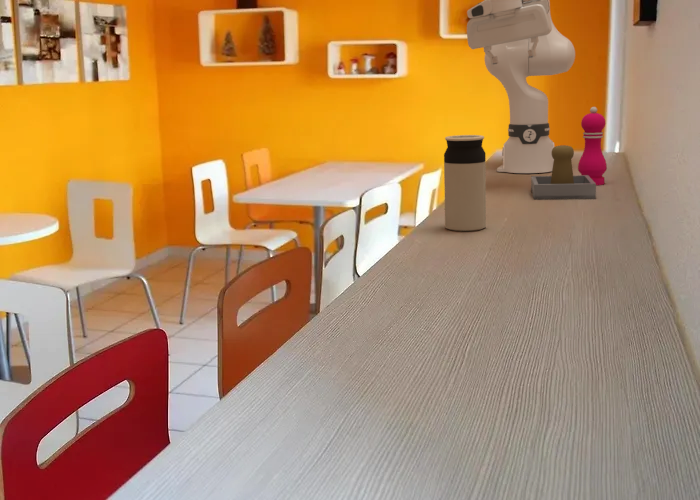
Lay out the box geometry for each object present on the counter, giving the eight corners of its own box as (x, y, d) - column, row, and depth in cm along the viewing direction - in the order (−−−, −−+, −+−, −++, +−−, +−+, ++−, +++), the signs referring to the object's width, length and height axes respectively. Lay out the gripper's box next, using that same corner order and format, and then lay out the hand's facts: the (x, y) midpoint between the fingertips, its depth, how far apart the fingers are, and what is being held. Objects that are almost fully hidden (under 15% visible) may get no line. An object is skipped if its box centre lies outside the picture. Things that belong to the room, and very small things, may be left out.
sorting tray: (531, 189, 207) (531, 176, 206) (587, 189, 205) (588, 175, 204) (534, 199, 192) (534, 184, 191) (595, 198, 189) (596, 183, 188)
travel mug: (488, 231, 157) (488, 137, 153) (447, 232, 157) (445, 138, 153) (482, 223, 164) (482, 134, 160) (443, 225, 165) (442, 135, 161)
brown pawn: (575, 192, 194) (576, 146, 192) (549, 192, 196) (550, 147, 193) (574, 188, 200) (575, 144, 198) (548, 189, 201) (549, 144, 199)
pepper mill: (603, 181, 216) (605, 105, 212) (608, 185, 209) (611, 106, 205) (575, 182, 217) (576, 106, 213) (580, 186, 210) (581, 107, 206)
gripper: (549, -8, 193) (558, 51, 197) (467, 10, 202) (477, 66, 206) (544, -6, 188) (553, 54, 192) (460, 12, 197) (470, 69, 201)
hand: (513, 60), depth 199 cm, fingers open, 8 cm apart
